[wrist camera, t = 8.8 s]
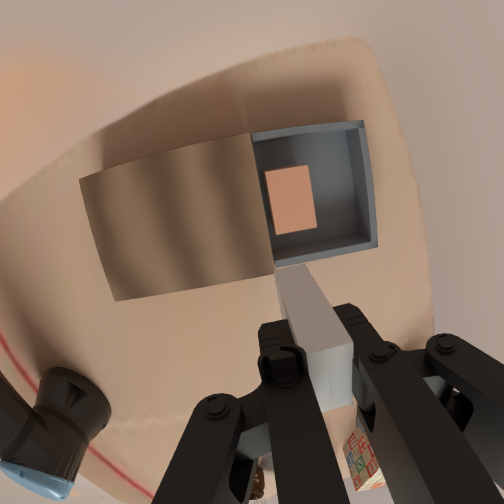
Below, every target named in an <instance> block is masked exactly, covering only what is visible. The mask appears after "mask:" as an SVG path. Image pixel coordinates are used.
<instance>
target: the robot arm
mask: <svg viewBox="0 0 504 504" xmlns="http://www.w3.org/2000/svg"><path fill="white" fill-rule="evenodd" d="M274 276H275V281H276V286H277V292H278V297H279V303H280V308H281V314H282V319H283V320H279V321H274V322H269V323H265V324H262V325H261V327H260V329H259V331H258V339H259V346H260V354H261V355H260V356H259V357H258V363H257V364H258V368H259V372H260V376H261V380H262V382H261V384H260V385H259V387H258V388H257V389H255V390H254V391H253V392H251V393H249V394H248V395H245V396H243V397H241V398H238V399H237V398H236V397H234V396H232V395H230V394H224V393H220V394H213V395H210V396H208V397H205V398H204V399H203V400H201V401H200V402H199V403H198V404H197V405H196V407H195V408H194V410H193V413H192V415H191V417H190V419H189V422H188V424H187V426H186V428H185V431H184V433H183V435H182V437H181V439H180V442H179V444H178V446H177V448H176V450H175V453H174V455H173V457H172V459H171V461H170V464H169V466H168V468H167V470H166V472H165V475H164V477H163V479H162V481H161V483H160V486H159V488H158V490H157V492H156V494H155V496H154V499H153V501H152V503H151V504H248V503H249V499H250V495H251V491H252V486H253V482H254V478H255V473H256V469H257V464H258V460H259V457H260V456H262V455H265V454H267V453H269V452H271V451H272V458H273V465H274V473H275V480H276V487H277V495H278V501H279V504H350V501H349V498H348V495H347V492H346V488H345V485H344V482H343V479H342V475H341V472H340V469H339V466H338V463H337V459H336V456H335V453H334V450H333V447H332V444H331V441H330V437H329V434H328V431H327V428H326V425H325V422H324V419H323V416H322V413H321V412H324V411H328V410H332V409H336V408H339V407H343V406H346V405H349V404H353V394H354V397H355V399H356V401H357V417H356V426H357V428H358V427H360V421H361V424H362V426H363V428H364V431H365V433H366V435H367V438H368V440H369V442H370V445H371V447H372V449H373V452H374V454H375V457H376V459H377V461H378V464H379V466H380V469H381V471H382V474H383V476H384V479H385V481H386V483H387V486H388V488H389V491H390V493H391V496H392V499H393V501H394V504H504V499H503V498H502V496H501V494H500V492H499V490H498V489H497V487H496V485H495V484H494V482H495V483H496V484H497V485H499V486H500V487H501V488H502V489H503V490H504V364H502V363H500V362H499V361H497V360H496V359H494V358H492V357H491V356H489V355H487V354H486V353H484V352H482V351H481V350H479V349H478V348H476V347H474V346H473V345H471V344H469V343H468V342H466V341H465V340H463V339H461V338H460V337H458V336H455V335H452V334H447V333H443V334H437V335H435V336H432V337H431V338H430V339H429V340H428V341H427V344H426V348H425V349H420V350H411V351H402V350H401V349H400V347H398V346H397V345H396V344H394V343H392V342H389V341H383V339H382V338H381V337H380V335H379V334H378V333H377V331H376V330H375V329H374V327H373V326H372V325H371V323H370V322H368V319H367V318H366V317H365V316H364V314H363V313H362V312H361V310H360V309H359V308H358V307H356V306H354V305H352V304H350V303H347V304H343V305H339V306H335V307H332V306H331V305H330V303H329V302H328V300H327V298H326V297H325V295H324V294H323V292H322V290H321V289H320V287H319V286H318V284H317V283H316V281H315V279H314V278H313V276H312V275H311V273H310V272H309V270H308V268H307V267H306V265H305V264H300V265H295V266H290V267H285V268H281V269H276V270H274ZM454 388H456V389H457V390H458V391H459V392H456V391H454V390H453V389H454ZM110 417H111V407H110V405H109V402H108V401H107V399H106V397H105V396H104V395H103V394H102V392H101V391H100V390H99V389H98V388H97V387H96V386H95V385H93V384H92V383H91V382H90V381H88V380H87V379H86V378H84V377H83V376H81V375H79V374H77V373H75V372H73V371H71V370H68V369H65V368H60V367H54V368H50V369H48V370H47V371H46V372H45V374H44V375H43V377H42V378H41V380H40V384H39V390H38V393H37V398H36V402H35V405H34V407H33V409H32V408H31V407H30V406H29V404H28V403H27V402H26V401H25V400H24V399H23V398H22V397H21V396H20V395H19V393H18V392H17V391H16V390H15V389H14V387H13V386H12V385H11V384H10V383H9V381H8V380H7V379H6V378H5V376H4V375H3V374H2V372H1V371H0V459H1V461H0V469H1V470H2V471H3V472H4V473H5V474H6V475H7V476H8V477H10V478H11V479H12V480H14V481H15V482H17V483H18V484H20V485H22V486H23V487H25V488H27V489H29V490H31V491H33V492H35V493H37V494H39V495H41V496H44V497H46V498H49V499H52V500H57V501H61V500H65V499H66V498H67V497H68V495H69V493H70V491H71V489H72V487H73V486H74V481H75V478H76V475H77V473H78V470H79V468H80V465H81V462H82V460H83V457H84V455H85V452H86V449H87V447H88V445H89V442H90V441H91V440H92V439H93V438H94V437H95V436H96V435H97V434H98V433H99V432H100V431H101V430H102V429H104V428H105V427H106V425H107V424H108V421H109V419H110ZM493 481H494V482H493Z"/></svg>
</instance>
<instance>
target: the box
mask: <svg viewBox="0 0 504 504" xmlns="http://www.w3.org/2000/svg"><path fill="white" fill-rule="evenodd" d="M250 137H251V142H252V147H253V152H254V157H255V162H256V168H257V173H258V178H259V183H260V189H261V194H262V200H263V205H264V210H265V216H266V221H267V227H268V232H269V238H270V244H271V249H272V255H273V260H274V263H275V266H276V268H278V267H283V266H288V265H293V264H298V263H303V262H308V261H313V260H318V259H323V258H328V257H333V256H338V255H343V254H348V253H352V252H357V251H362V250H367V249H371V248H376V247H378V237H377V221H376V209H375V198H374V188H373V180H372V171H371V164H370V157H369V150H368V143H367V137H366V131H365V126H364V120H359V121H345V122H334V123H323V124H314V125H306V126H298V127H290V128H283V129H276V130H270V131H264V132H258V133H252V134H251V136H250ZM293 164H301V165H308V169H309V176H310V182H311V188H312V195H313V202H314V209H315V216H316V223H317V227H316V228H311V229H305V230H300V231H295V232H289V233H284V234H279V235H276V233H275V231H274V229H273V227H272V225H271V223H270V218H269V213H268V207H267V202H266V196H265V191H264V185H263V180H262V175H261V170H263V169H269V168H275V167H281V166H287V165H293Z"/></svg>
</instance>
